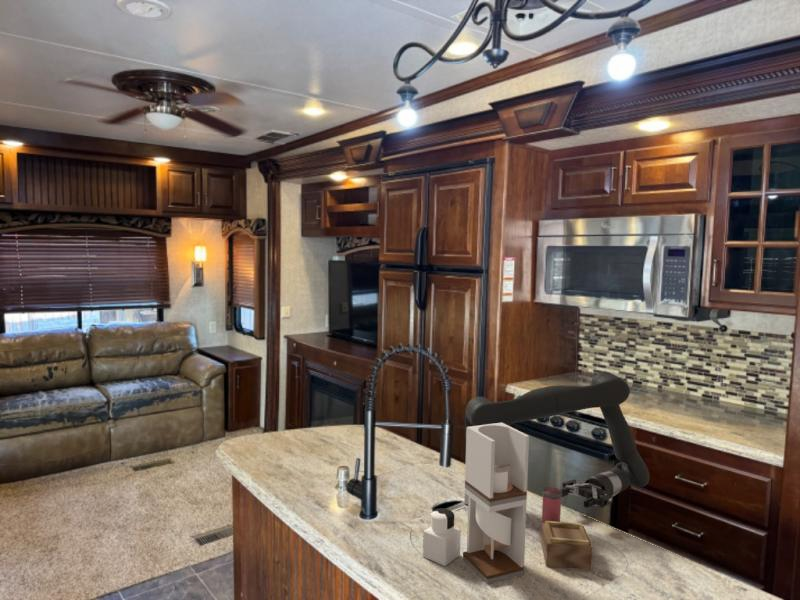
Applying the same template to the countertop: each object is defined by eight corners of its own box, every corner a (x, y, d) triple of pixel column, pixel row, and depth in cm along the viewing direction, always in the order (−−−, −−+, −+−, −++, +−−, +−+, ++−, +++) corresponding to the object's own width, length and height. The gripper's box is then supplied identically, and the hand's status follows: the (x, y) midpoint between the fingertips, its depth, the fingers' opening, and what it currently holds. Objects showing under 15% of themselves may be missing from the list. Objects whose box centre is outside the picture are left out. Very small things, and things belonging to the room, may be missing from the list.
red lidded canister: (542, 535, 156) (544, 494, 155) (540, 526, 161) (541, 486, 160) (561, 536, 155) (563, 495, 154) (558, 527, 160) (560, 487, 159)
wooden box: (546, 566, 140) (547, 539, 140) (541, 544, 151) (542, 519, 151) (591, 570, 139) (592, 543, 138) (582, 547, 150) (583, 522, 149)
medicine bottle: (438, 546, 149) (439, 502, 148) (460, 555, 145) (461, 511, 144) (422, 556, 144) (423, 512, 143) (445, 567, 139) (446, 521, 138)
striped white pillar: (462, 559, 143) (466, 426, 140) (497, 551, 147) (502, 422, 144) (487, 584, 132) (491, 441, 129) (523, 574, 137) (529, 435, 134)
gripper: (584, 467, 179) (552, 478, 169) (625, 482, 167) (594, 495, 158) (583, 489, 179) (551, 502, 169) (623, 506, 168) (592, 520, 158)
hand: (572, 499), depth 164 cm, fingers open, 8 cm apart
